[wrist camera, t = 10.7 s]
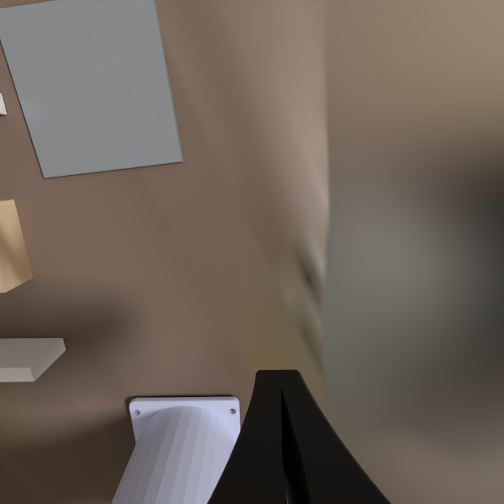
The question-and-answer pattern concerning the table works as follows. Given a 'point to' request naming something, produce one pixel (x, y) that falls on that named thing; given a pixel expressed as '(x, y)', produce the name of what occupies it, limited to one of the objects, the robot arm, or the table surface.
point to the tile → (12, 249)
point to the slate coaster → (92, 84)
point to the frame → (27, 348)
